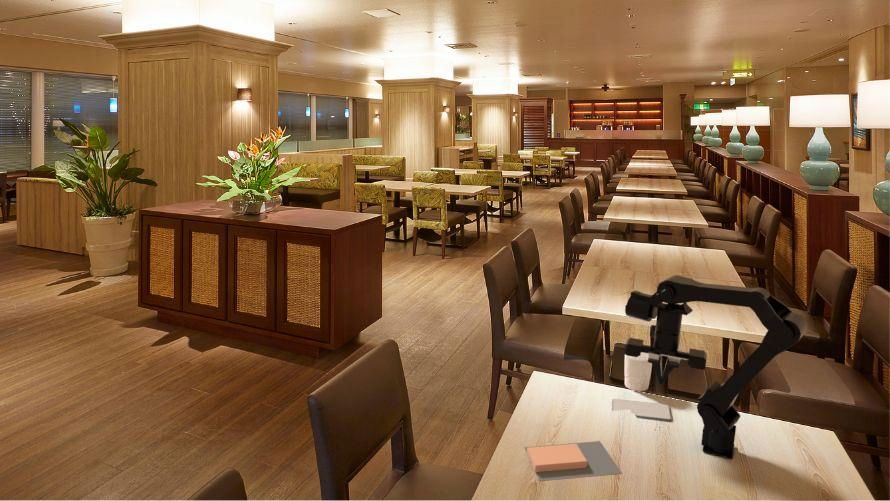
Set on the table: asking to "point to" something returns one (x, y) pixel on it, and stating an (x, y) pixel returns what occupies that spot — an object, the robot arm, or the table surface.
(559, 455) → the terracotta tile
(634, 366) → the white cup
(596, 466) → the rubber mat
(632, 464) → the table surface
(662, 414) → the smartphone
